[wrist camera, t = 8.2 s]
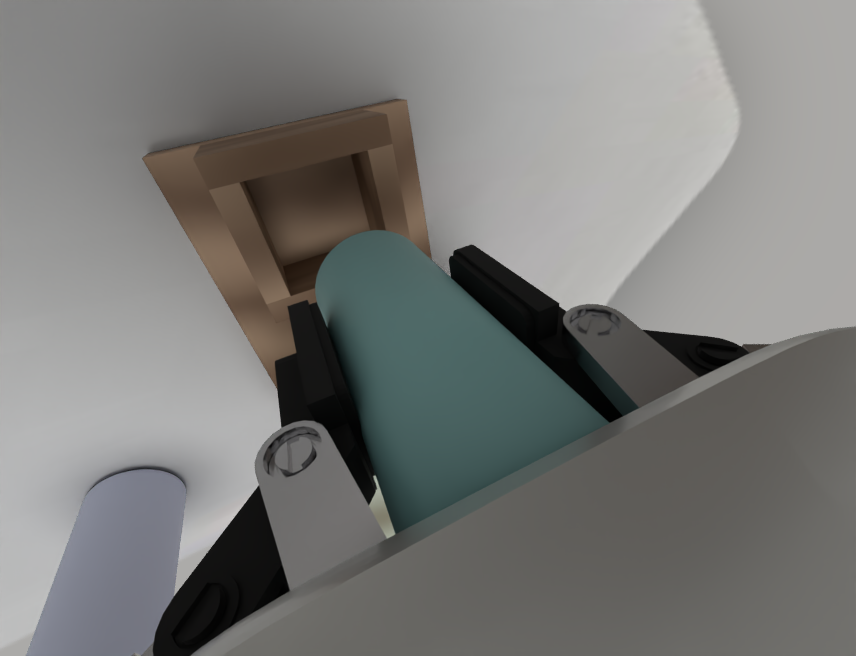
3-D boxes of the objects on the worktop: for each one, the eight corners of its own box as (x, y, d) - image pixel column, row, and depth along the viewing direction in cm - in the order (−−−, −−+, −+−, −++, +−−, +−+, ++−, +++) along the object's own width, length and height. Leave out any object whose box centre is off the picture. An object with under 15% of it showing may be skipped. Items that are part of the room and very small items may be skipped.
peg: (296, 251, 11) (422, 649, 3) (418, 214, 12) (746, 453, 4) (336, 351, 13) (464, 717, 6) (435, 314, 14) (662, 583, 6)
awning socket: (148, 153, 17) (4, 263, 7) (397, 99, 21) (574, 113, 10) (289, 400, 28) (322, 594, 17) (438, 340, 31) (543, 473, 21)
